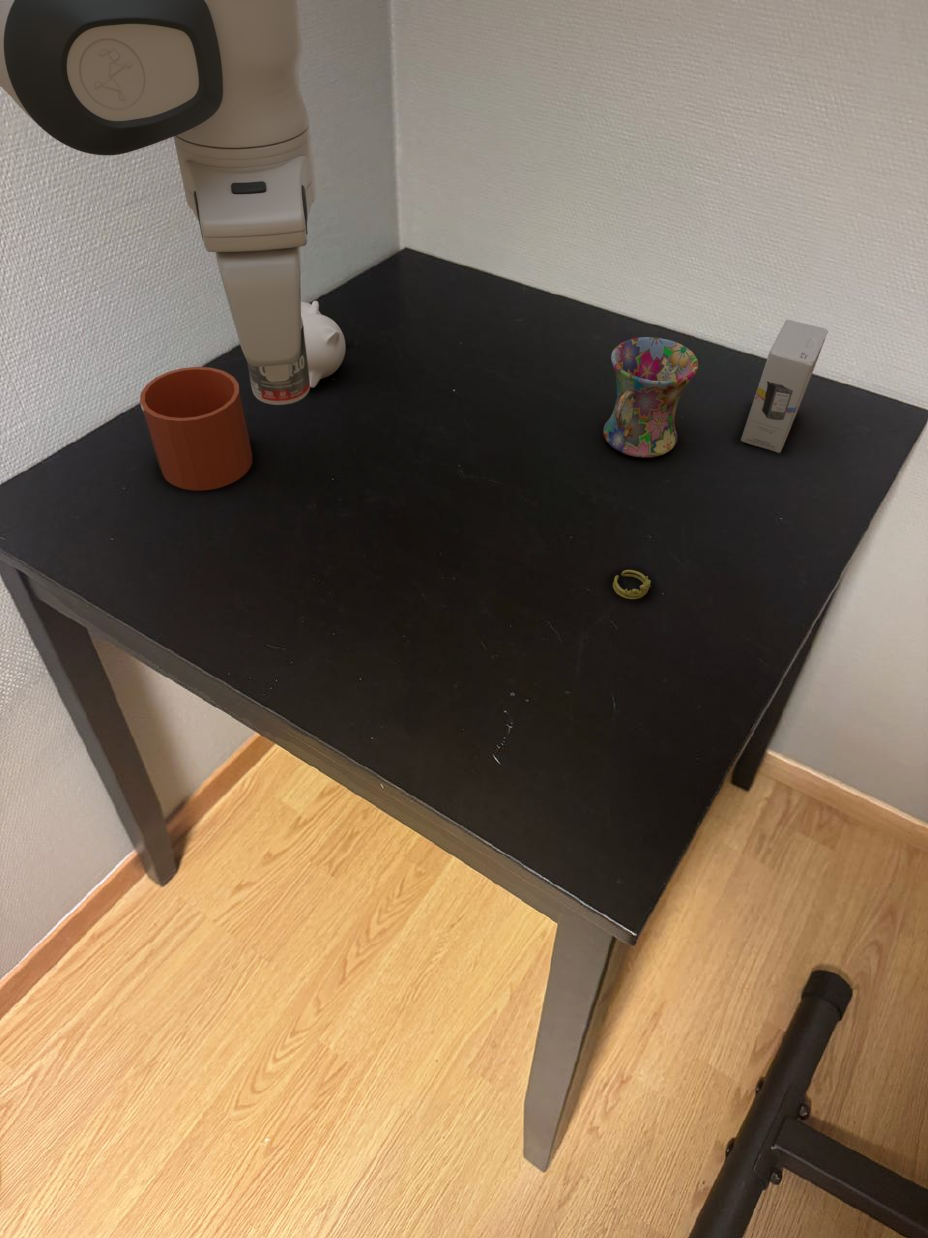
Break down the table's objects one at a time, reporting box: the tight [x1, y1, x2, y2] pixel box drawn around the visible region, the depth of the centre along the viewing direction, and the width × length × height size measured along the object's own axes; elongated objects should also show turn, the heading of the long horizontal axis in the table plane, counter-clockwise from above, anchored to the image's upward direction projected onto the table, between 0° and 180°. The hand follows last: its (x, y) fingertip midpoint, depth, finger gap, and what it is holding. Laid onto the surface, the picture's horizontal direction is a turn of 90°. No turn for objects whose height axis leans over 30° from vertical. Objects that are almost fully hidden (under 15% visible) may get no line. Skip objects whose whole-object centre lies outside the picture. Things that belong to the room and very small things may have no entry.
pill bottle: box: [246, 317, 311, 406], centre depth 68 cm, size 5×5×8 cm
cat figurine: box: [301, 300, 346, 388], centre depth 108 cm, size 9×11×12 cm
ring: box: [612, 569, 652, 600], centre depth 83 cm, size 3×3×3 cm
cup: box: [139, 366, 254, 491], centre depth 93 cm, size 10×10×9 cm
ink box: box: [740, 319, 829, 454], centre depth 98 cm, size 9×5×12 cm, turn 153°
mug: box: [602, 336, 699, 458], centre depth 96 cm, size 12×9×11 cm
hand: (275, 356), depth 69 cm, fingers closed on pill bottle, 5 cm apart
